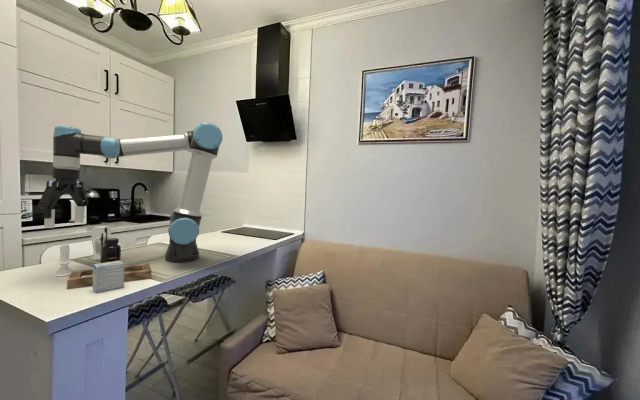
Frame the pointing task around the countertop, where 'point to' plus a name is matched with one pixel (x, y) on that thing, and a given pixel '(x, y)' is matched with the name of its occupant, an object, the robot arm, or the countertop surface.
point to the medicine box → (108, 276)
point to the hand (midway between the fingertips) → (65, 225)
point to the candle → (64, 261)
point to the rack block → (130, 274)
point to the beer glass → (99, 239)
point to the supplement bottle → (110, 250)
